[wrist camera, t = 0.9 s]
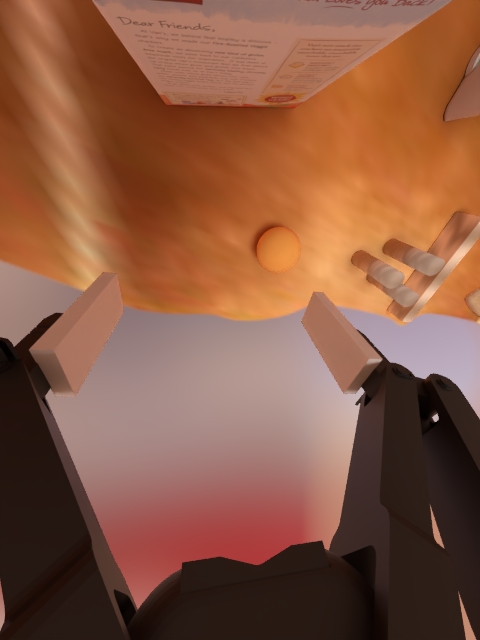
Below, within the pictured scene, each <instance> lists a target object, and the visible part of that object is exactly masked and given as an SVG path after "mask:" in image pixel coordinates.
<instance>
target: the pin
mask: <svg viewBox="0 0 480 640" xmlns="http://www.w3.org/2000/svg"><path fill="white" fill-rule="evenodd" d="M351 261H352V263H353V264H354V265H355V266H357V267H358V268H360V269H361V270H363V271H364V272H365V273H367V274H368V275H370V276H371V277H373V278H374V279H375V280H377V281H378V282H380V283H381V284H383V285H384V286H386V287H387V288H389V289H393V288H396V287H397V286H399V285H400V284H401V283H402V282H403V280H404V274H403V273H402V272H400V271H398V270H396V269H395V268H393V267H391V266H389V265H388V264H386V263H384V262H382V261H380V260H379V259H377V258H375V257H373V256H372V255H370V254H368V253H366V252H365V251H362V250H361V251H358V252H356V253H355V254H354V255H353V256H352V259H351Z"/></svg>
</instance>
